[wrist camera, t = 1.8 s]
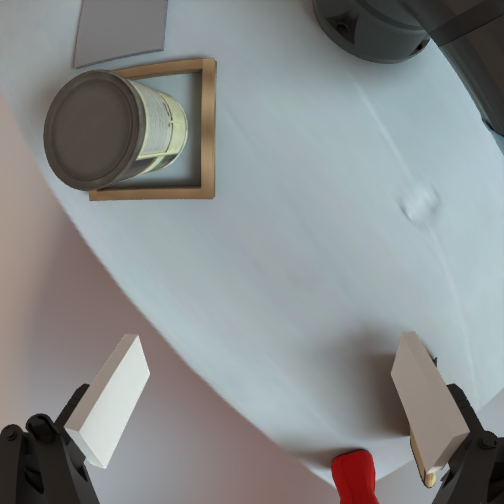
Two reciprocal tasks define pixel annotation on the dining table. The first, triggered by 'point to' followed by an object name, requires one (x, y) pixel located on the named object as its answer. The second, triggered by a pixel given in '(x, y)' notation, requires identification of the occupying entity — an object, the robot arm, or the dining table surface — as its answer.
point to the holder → (207, 134)
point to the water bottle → (355, 478)
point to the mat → (119, 30)
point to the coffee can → (111, 130)
